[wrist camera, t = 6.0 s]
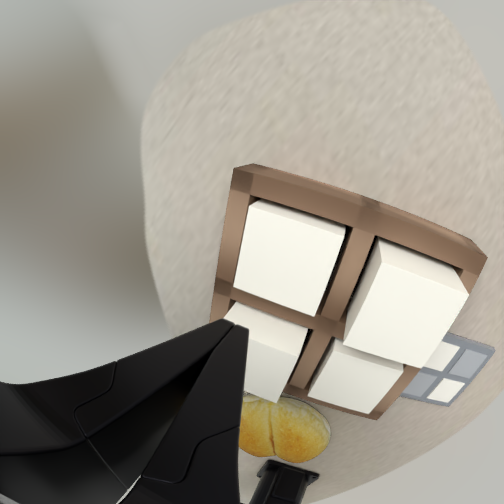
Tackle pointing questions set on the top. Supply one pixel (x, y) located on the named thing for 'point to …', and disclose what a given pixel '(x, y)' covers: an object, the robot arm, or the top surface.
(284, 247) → the button
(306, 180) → the brown flat square grid
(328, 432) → the bread roll
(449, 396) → the pattern card
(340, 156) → the top surface
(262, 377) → the button
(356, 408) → the button
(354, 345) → the button
